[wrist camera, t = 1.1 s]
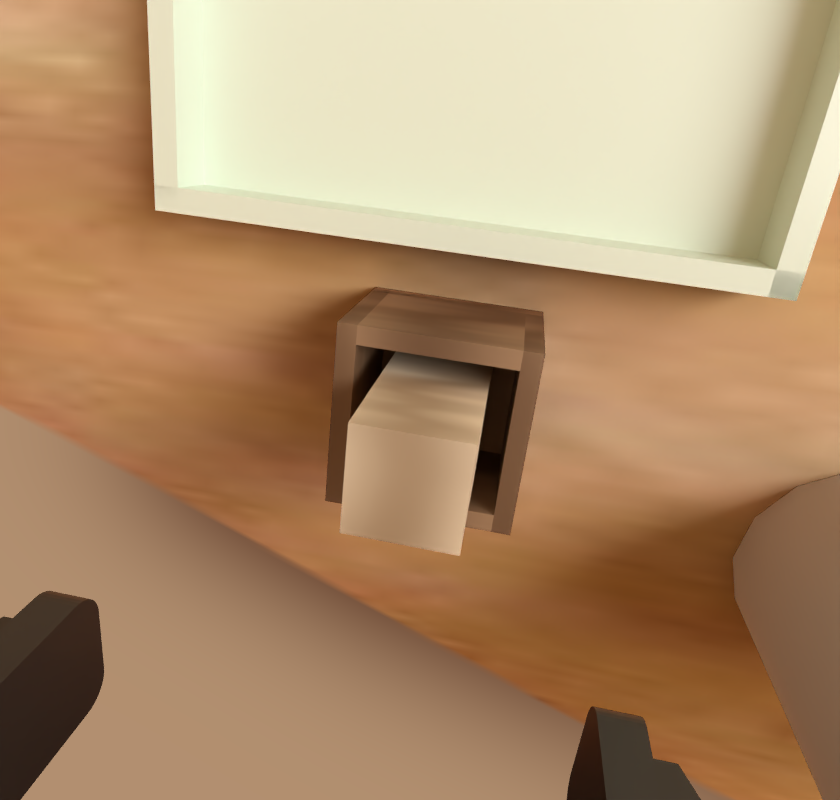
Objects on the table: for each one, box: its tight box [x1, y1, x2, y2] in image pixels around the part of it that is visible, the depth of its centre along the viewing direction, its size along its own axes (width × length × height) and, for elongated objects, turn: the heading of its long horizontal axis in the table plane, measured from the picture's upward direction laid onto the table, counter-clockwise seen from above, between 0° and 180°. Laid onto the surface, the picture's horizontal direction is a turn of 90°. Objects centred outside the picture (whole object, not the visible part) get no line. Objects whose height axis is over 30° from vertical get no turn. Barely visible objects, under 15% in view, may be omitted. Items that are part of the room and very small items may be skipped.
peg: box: [340, 351, 493, 556], centre depth 20 cm, size 3×3×8 cm
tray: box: [147, 0, 840, 301], centre depth 19 cm, size 20×14×2 cm
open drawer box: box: [325, 287, 545, 535], centre depth 22 cm, size 6×6×5 cm
